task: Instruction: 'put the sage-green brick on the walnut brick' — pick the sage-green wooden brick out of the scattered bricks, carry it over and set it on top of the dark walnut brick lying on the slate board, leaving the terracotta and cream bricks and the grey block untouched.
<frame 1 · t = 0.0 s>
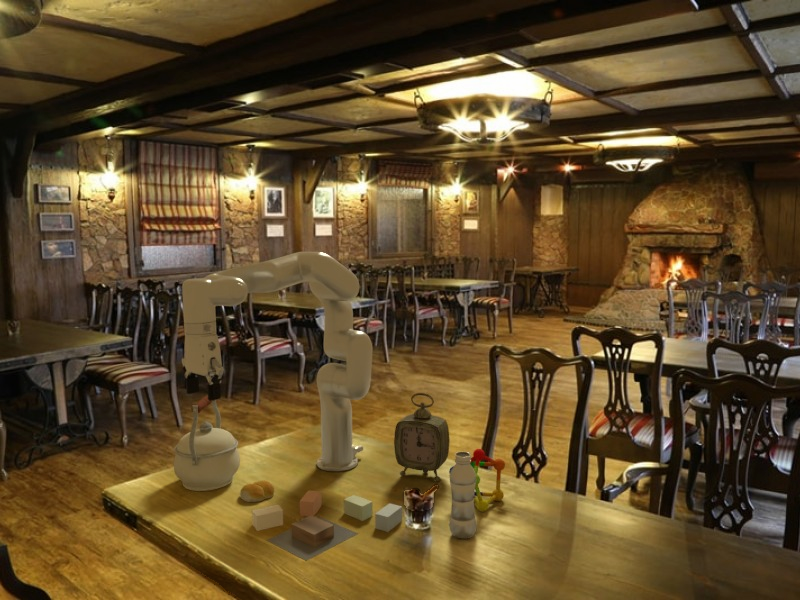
hand: (203, 396, 159), 31 cm above the table, tool pointing down, fingers open, 9 cm apart
bread roll: (257, 497, 174), on the table
brick walnut: (312, 536, 149), point 1 cm above the table, touching slate board
plastic bottle: (462, 536, 151), on the table
grey block: (389, 529, 154), on the table
educational toy: (475, 503, 169), on the table
brick sage: (358, 519, 160), on the table
tabletop clock: (423, 476, 187), on the table
brick cream: (268, 529, 155), on the table
brick terracotta: (311, 515, 163), on the table
slate board: (312, 541, 149), on the table
kettle: (210, 480, 186), on the table
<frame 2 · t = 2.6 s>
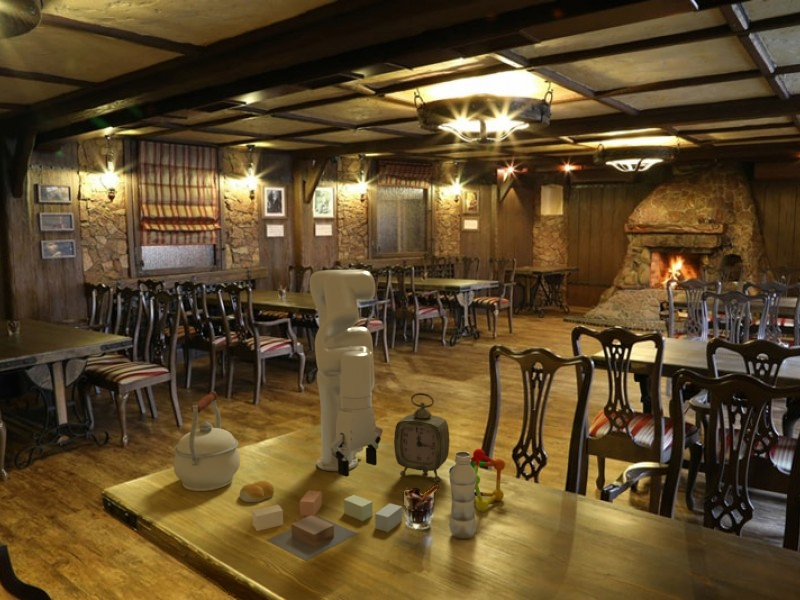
hand: (357, 469, 158), 13 cm above the table, tool pointing down, fingers open, 9 cm apart
nothing on the table moved.
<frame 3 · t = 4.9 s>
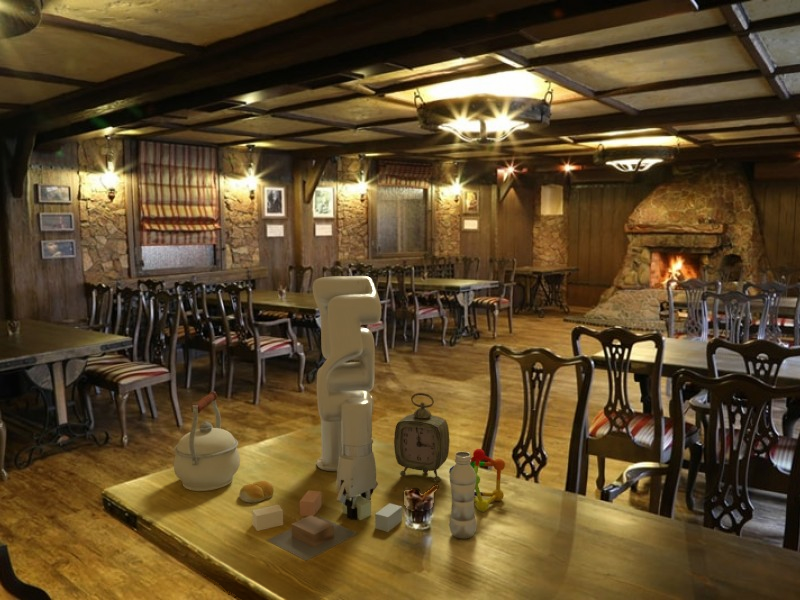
hand: (358, 518, 160), 0 cm above the table, tool pointing down, fingers closed on brick sage, 3 cm apart
brick sage: (356, 517, 160), on the table, touching gripper
everything else where it was.
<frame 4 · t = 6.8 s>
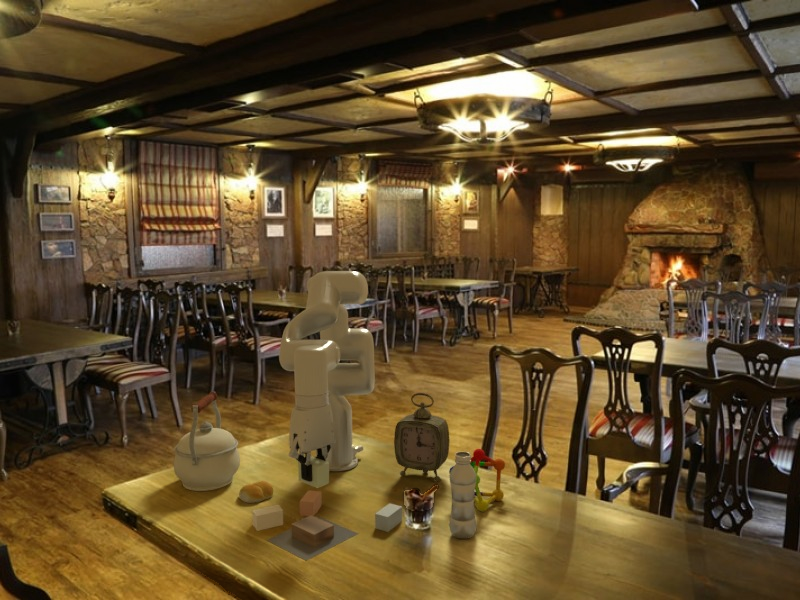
hand: (313, 476, 147), 16 cm above the table, tool pointing down, fingers closed on brick sage, 3 cm apart
brick sage: (313, 481, 147), point 14 cm above the table, touching gripper
everything else where it was.
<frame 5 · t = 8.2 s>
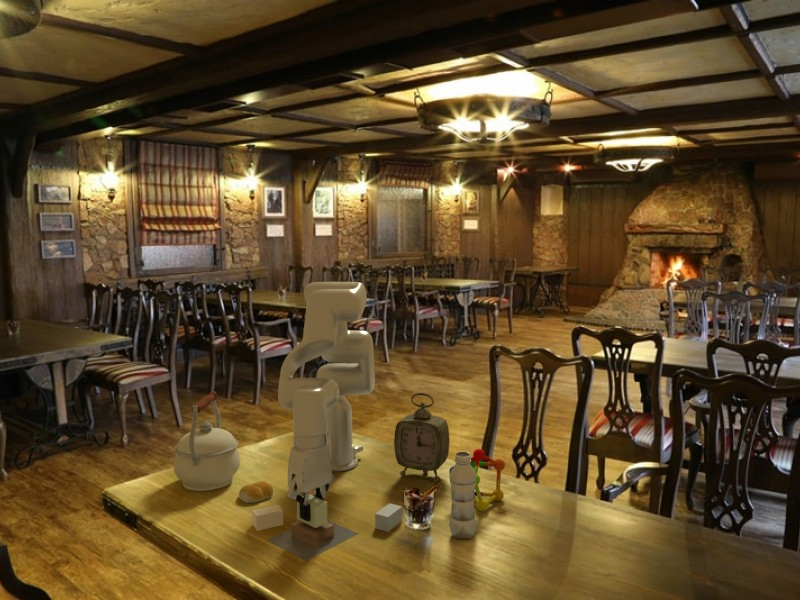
hand: (312, 515, 148), 6 cm above the table, tool pointing down, fingers closed on brick sage, 3 cm apart
brick sage: (312, 520, 148), point 5 cm above the table, touching gripper
everything else where it was.
when the fingers open (5 cm above the table, at t = 9.1 s): brick sage stays where it is, resting on brick walnut.
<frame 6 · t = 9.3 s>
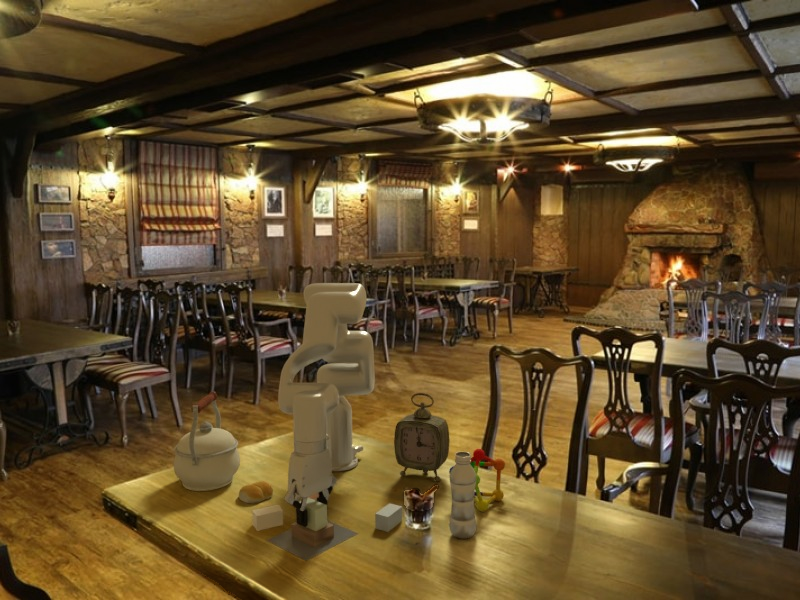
hand: (312, 519, 148), 5 cm above the table, tool pointing down, fingers open, 5 cm apart
brick walnut: (312, 536, 149), point 1 cm above the table, touching brick sage, slate board
brick sage: (312, 524, 148), point 4 cm above the table, touching brick walnut
everything else where it was.
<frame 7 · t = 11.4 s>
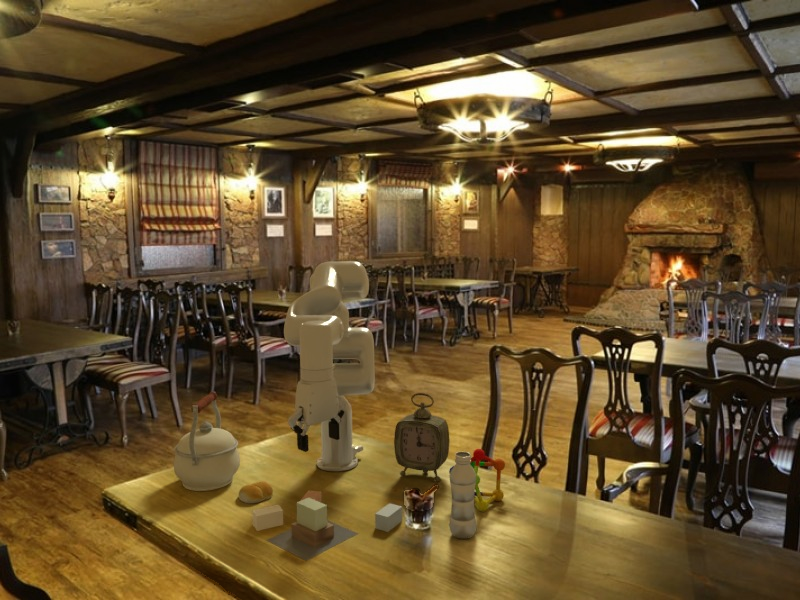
hand: (319, 444, 151), 22 cm above the table, tool pointing down, fingers open, 9 cm apart
nothing on the table moved.
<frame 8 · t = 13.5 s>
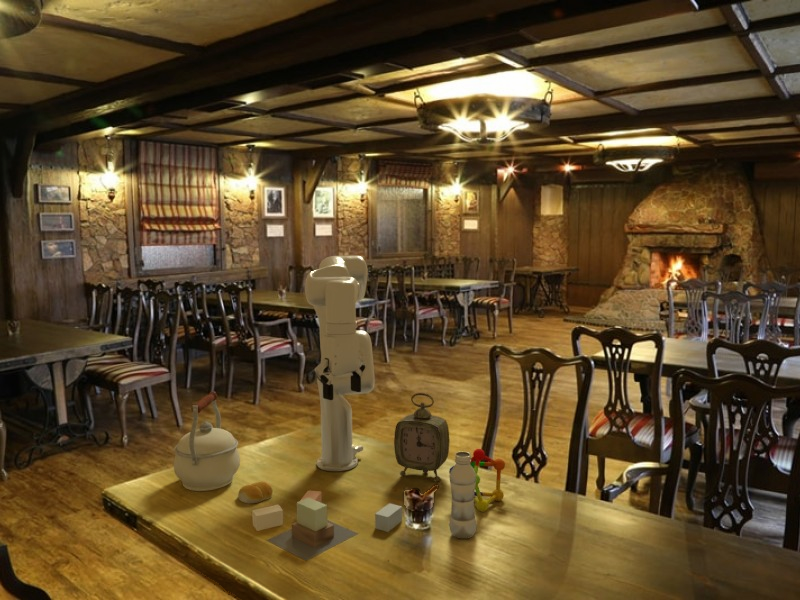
hand: (342, 395, 162), 30 cm above the table, tool pointing down, fingers open, 9 cm apart
nothing on the table moved.
at the end: brick sage inside the target area on the brick walnut (0.1 cm from its centre), point 3.0 cm above the brick walnut's base; brick walnut moved 0.0 cm from its start; grey block moved 0.1 cm from its start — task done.
